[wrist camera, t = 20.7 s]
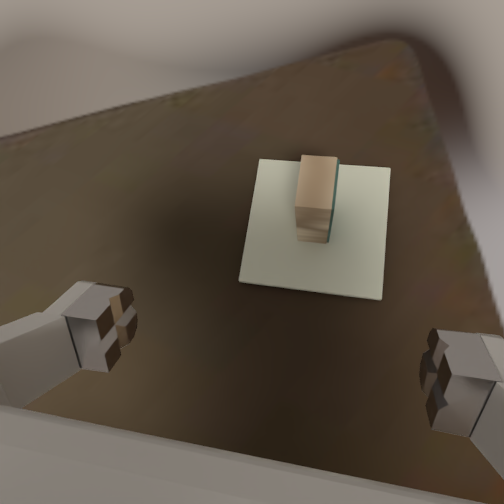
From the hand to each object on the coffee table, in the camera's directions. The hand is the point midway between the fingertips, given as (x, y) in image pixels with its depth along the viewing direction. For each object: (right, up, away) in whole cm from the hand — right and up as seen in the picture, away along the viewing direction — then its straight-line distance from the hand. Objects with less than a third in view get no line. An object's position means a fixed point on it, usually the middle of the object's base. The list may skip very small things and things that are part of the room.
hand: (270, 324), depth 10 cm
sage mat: (+5, +4, +23) cm, 24 cm away
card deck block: (+5, +5, +23) cm, 24 cm away
